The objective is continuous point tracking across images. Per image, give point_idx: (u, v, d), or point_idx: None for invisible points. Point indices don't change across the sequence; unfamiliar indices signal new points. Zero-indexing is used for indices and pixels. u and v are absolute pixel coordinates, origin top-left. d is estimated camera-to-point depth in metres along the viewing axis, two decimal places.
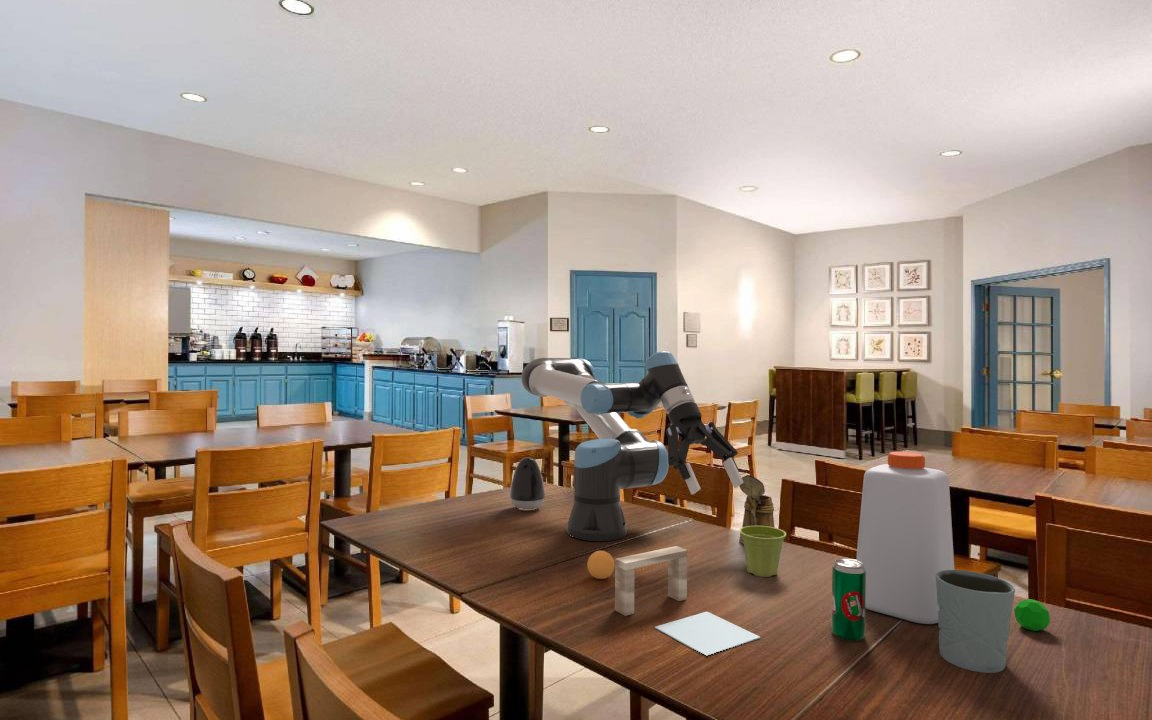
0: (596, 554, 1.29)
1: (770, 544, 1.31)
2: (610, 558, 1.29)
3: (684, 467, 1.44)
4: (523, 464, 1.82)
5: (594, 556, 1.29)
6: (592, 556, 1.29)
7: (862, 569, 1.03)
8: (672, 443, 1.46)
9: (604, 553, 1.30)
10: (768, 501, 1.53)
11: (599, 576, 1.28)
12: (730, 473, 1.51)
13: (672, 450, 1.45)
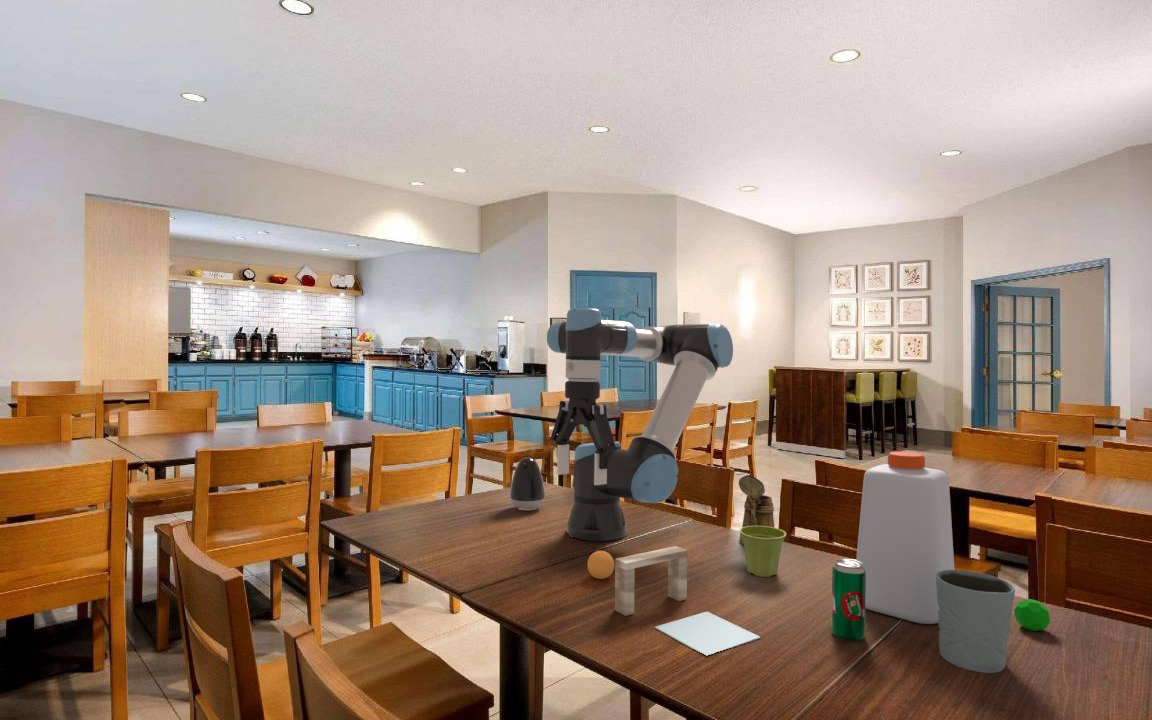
0: (596, 554, 1.29)
1: (770, 544, 1.31)
2: (610, 558, 1.29)
3: (558, 448, 1.44)
4: (523, 464, 1.82)
5: (594, 556, 1.29)
6: (592, 556, 1.29)
7: (862, 569, 1.03)
8: None
9: (604, 553, 1.30)
10: (768, 501, 1.53)
11: (599, 576, 1.28)
12: None
13: None
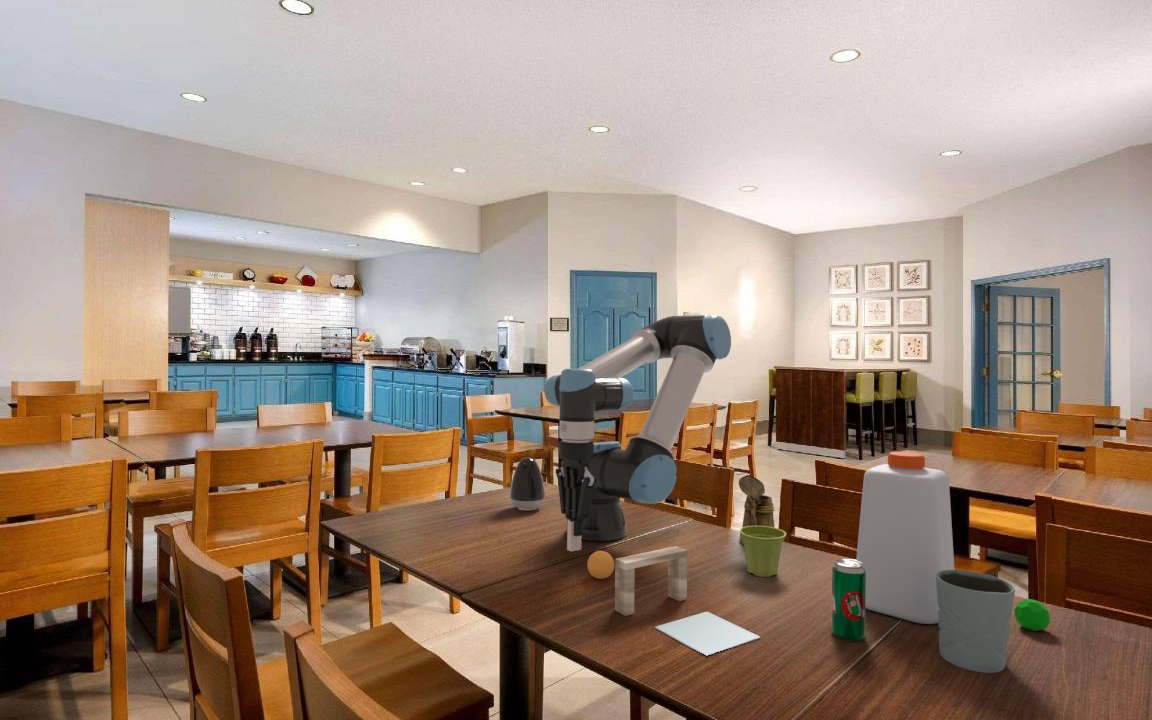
0: (596, 554, 1.29)
1: (770, 544, 1.31)
2: (610, 558, 1.29)
3: None
4: (523, 464, 1.82)
5: (594, 556, 1.29)
6: (592, 556, 1.29)
7: (862, 569, 1.03)
8: None
9: (604, 553, 1.30)
10: (768, 501, 1.53)
11: (599, 576, 1.28)
12: None
13: None
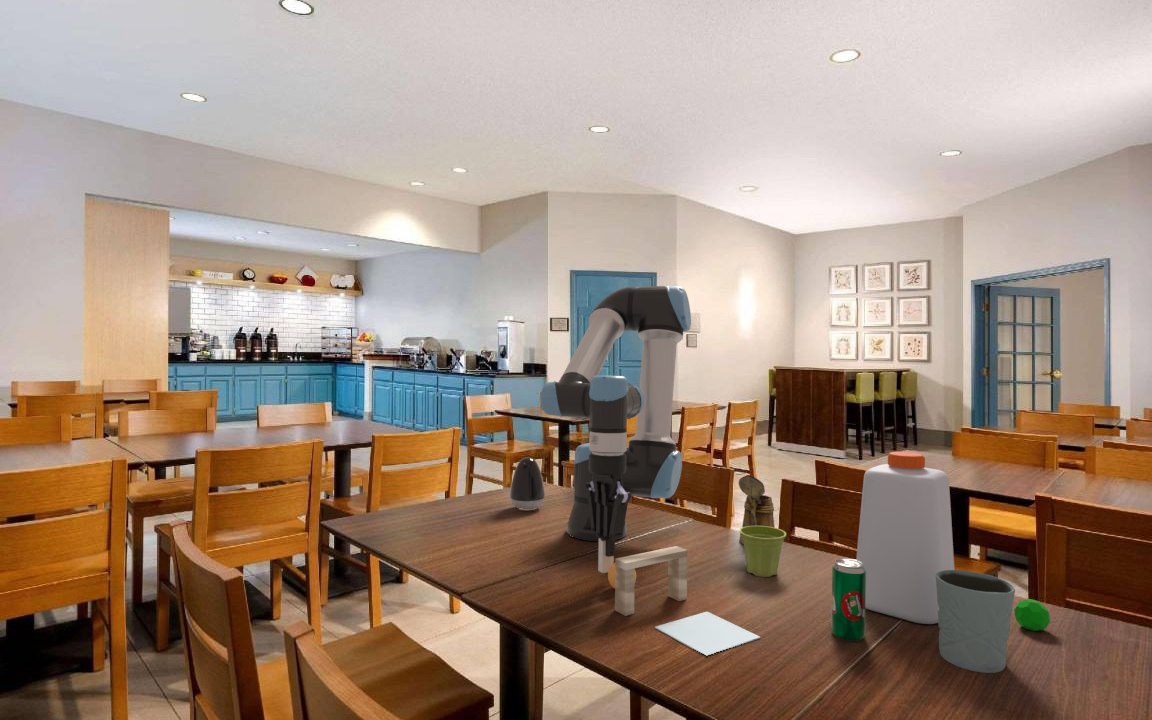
0: None
1: (770, 544, 1.31)
2: None
3: None
4: (523, 464, 1.82)
5: None
6: None
7: (862, 569, 1.03)
8: None
9: None
10: (768, 501, 1.53)
11: None
12: None
13: None
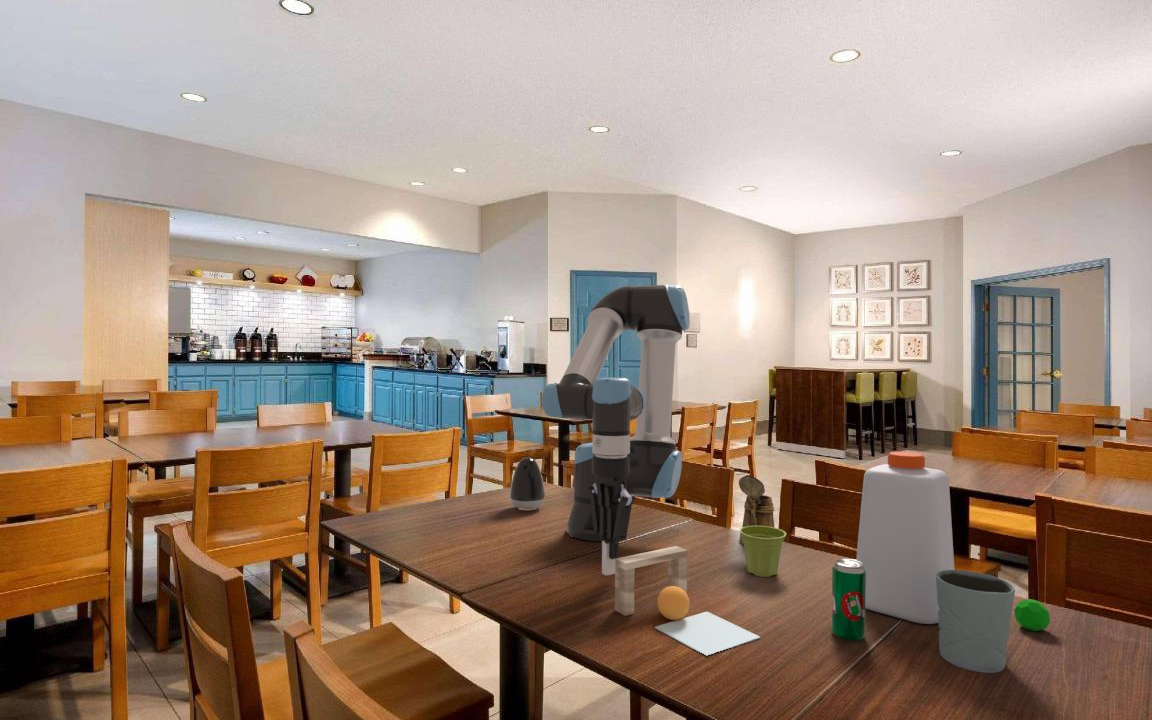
0: (675, 614, 1.08)
1: (770, 544, 1.31)
2: None
3: None
4: (523, 464, 1.82)
5: (672, 614, 1.08)
6: (671, 610, 1.08)
7: (862, 569, 1.03)
8: None
9: (682, 616, 1.09)
10: (768, 501, 1.53)
11: None
12: None
13: None
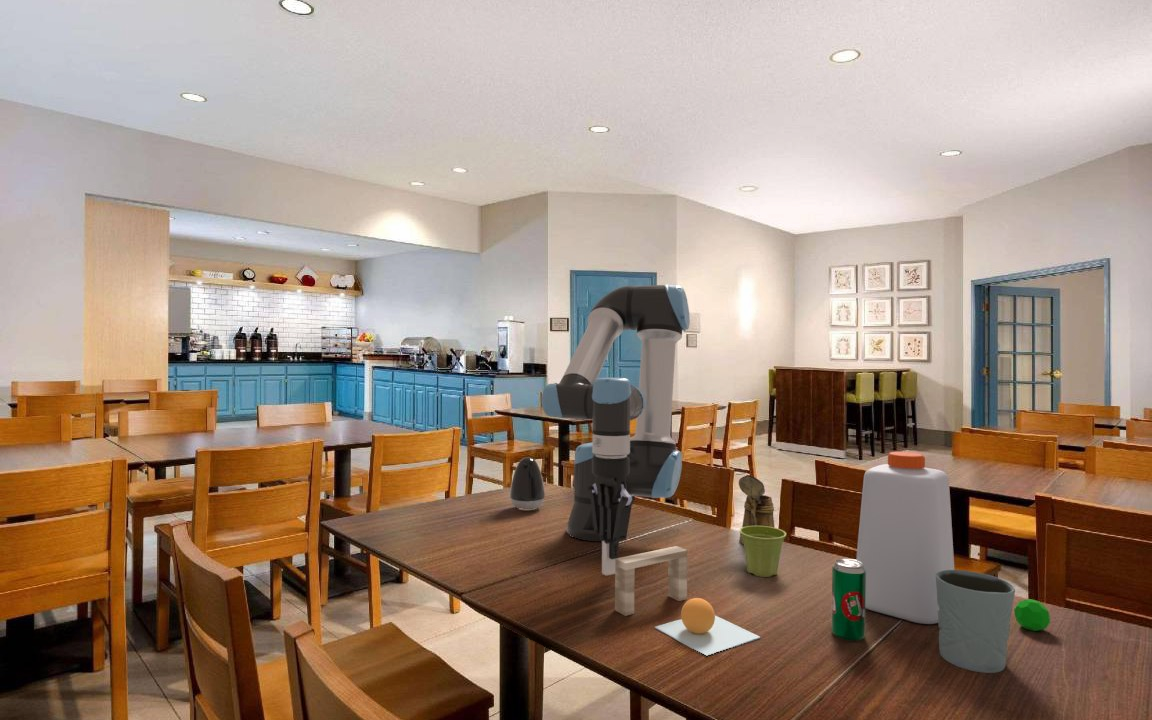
0: None
1: (770, 544, 1.31)
2: None
3: None
4: (523, 464, 1.82)
5: None
6: (683, 622, 1.06)
7: (862, 569, 1.03)
8: None
9: None
10: (768, 501, 1.53)
11: (692, 604, 1.04)
12: None
13: None
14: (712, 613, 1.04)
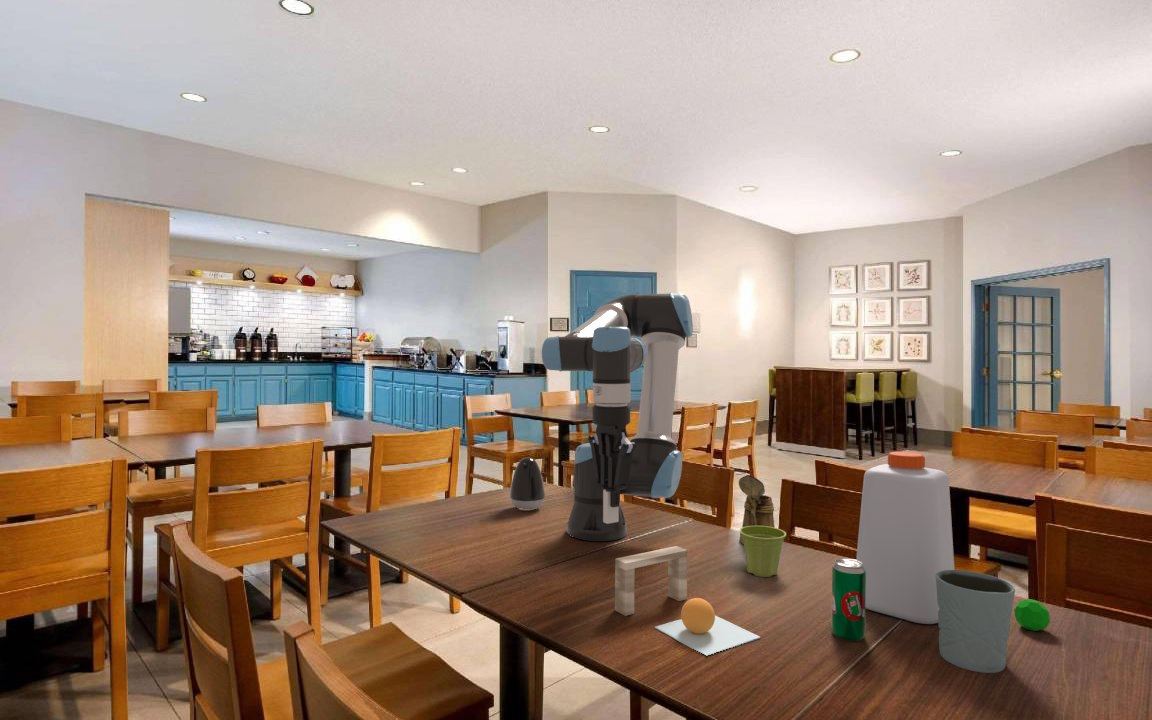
0: None
1: (770, 544, 1.31)
2: None
3: None
4: (523, 464, 1.82)
5: None
6: (683, 622, 1.06)
7: (862, 569, 1.03)
8: None
9: None
10: (768, 501, 1.53)
11: (692, 604, 1.04)
12: None
13: None
14: (712, 613, 1.04)
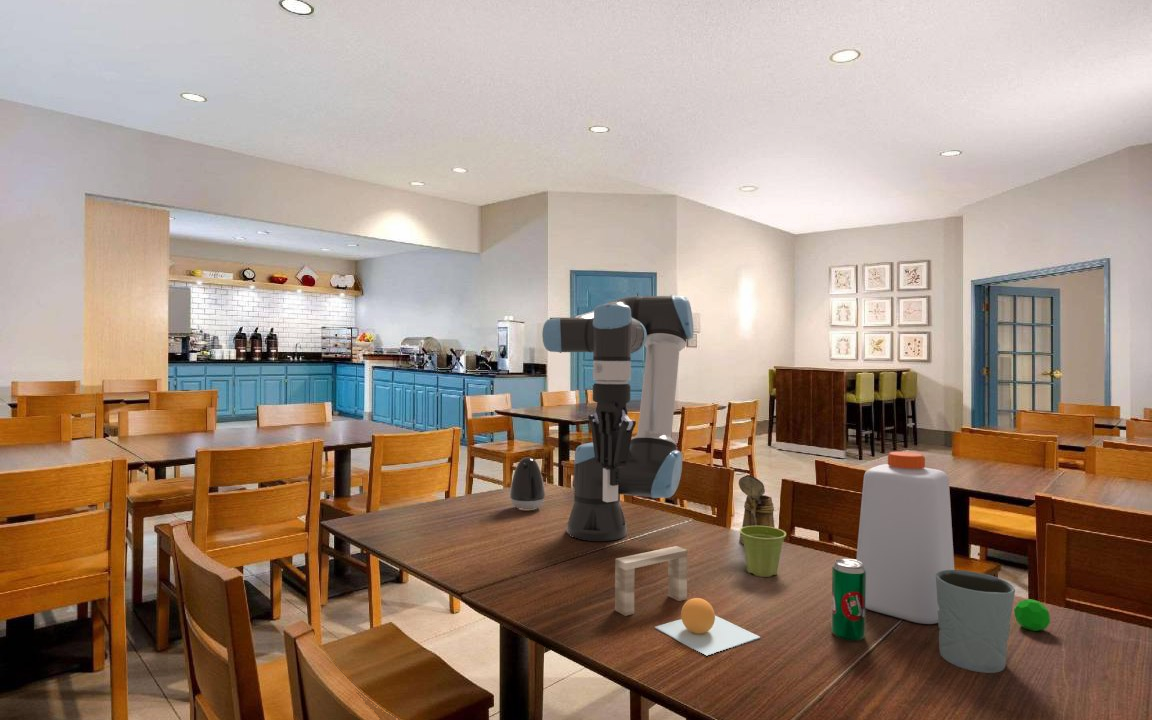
0: None
1: (770, 544, 1.31)
2: None
3: None
4: (523, 464, 1.82)
5: None
6: (683, 622, 1.06)
7: (862, 569, 1.03)
8: None
9: None
10: (768, 501, 1.53)
11: (692, 604, 1.04)
12: None
13: None
14: (712, 613, 1.04)
